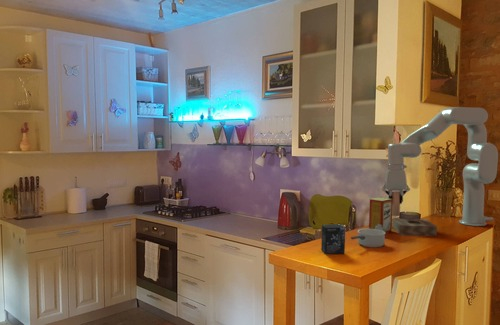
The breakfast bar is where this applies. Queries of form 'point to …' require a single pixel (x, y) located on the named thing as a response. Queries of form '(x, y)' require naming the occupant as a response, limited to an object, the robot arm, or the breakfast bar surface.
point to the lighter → (379, 227)
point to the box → (333, 239)
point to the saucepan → (370, 237)
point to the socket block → (414, 227)
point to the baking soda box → (380, 212)
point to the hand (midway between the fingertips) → (395, 203)
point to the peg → (395, 203)
